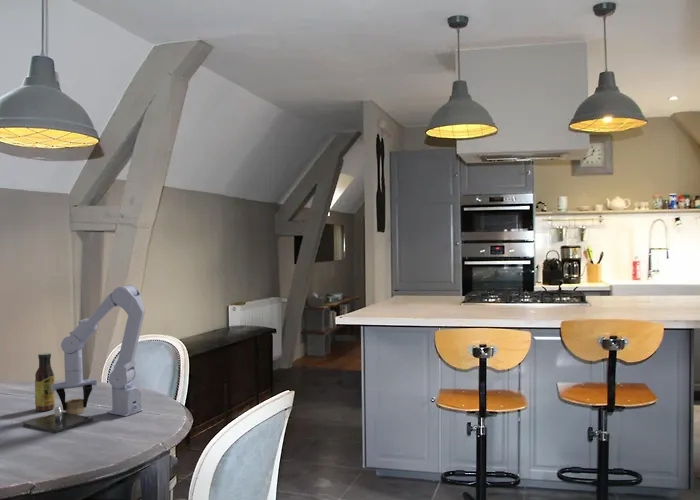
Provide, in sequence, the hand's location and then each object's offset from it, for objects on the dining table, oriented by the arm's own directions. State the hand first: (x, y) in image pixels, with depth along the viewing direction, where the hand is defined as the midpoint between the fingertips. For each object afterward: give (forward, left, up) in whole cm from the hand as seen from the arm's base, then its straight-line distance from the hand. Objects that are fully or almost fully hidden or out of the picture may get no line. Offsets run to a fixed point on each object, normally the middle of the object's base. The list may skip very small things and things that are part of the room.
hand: (74, 408), depth 220 cm
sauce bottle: (+13, +2, -2) cm, 13 cm away
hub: (-6, +11, -1) cm, 13 cm away
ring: (0, 0, -1) cm, 1 cm away
